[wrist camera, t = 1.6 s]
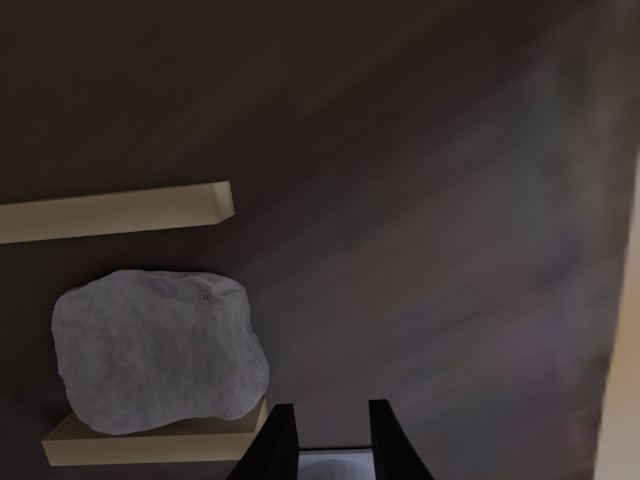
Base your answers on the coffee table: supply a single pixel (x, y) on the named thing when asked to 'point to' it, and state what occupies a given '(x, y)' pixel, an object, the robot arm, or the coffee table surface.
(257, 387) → the stone block
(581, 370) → the coffee table surface
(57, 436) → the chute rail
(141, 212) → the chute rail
